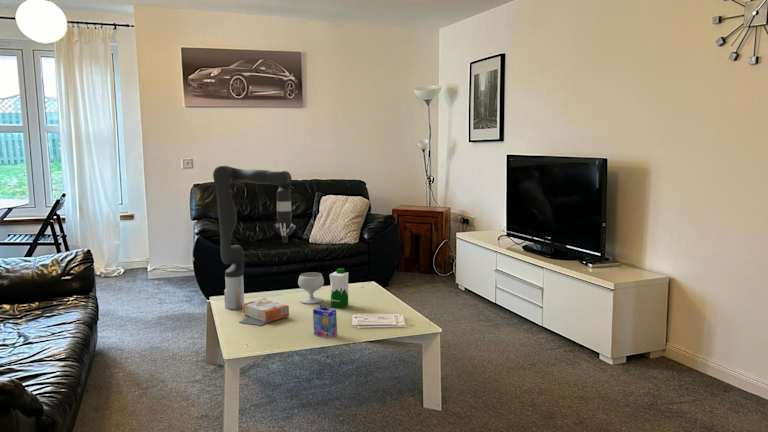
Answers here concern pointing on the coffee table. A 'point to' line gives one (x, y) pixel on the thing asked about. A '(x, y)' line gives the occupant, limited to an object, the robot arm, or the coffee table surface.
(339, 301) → the milk carton
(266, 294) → the coffee table surface
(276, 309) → the cracker box
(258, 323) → the mat
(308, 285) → the chalice
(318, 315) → the ink cartridge box
